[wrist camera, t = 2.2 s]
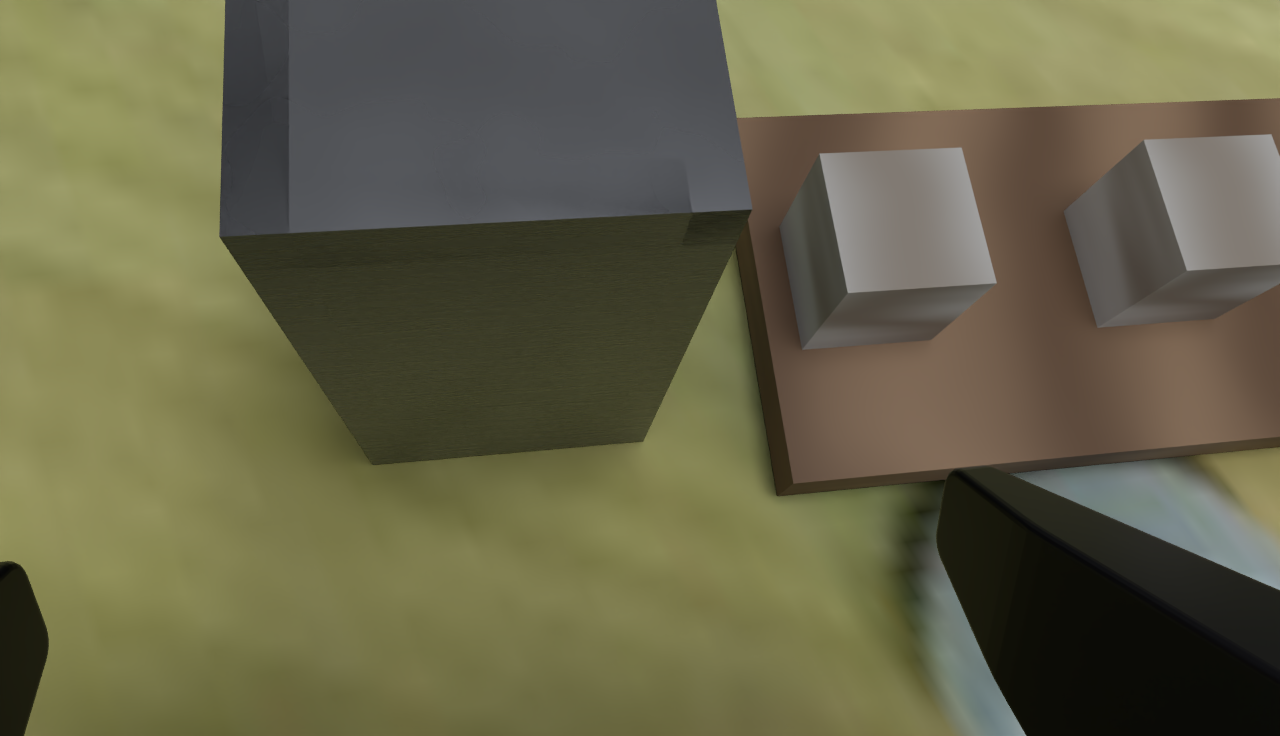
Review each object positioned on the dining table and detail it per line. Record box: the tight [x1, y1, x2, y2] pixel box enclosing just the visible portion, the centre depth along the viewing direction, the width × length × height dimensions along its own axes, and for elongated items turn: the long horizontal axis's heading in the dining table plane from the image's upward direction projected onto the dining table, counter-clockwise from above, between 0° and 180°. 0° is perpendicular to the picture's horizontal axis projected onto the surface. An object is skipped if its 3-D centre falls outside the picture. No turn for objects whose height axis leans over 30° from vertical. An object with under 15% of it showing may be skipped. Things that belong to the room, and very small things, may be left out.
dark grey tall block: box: [219, 0, 752, 465], centre depth 18 cm, size 7×7×12 cm
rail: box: [736, 98, 1280, 496], centre depth 24 cm, size 17×10×5 cm, turn 97°
